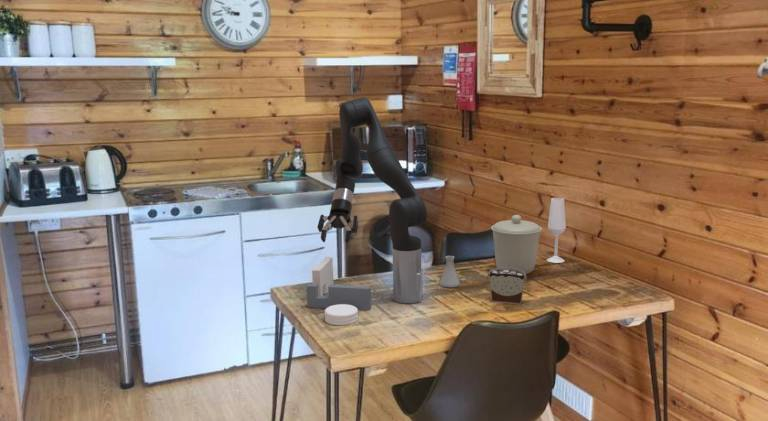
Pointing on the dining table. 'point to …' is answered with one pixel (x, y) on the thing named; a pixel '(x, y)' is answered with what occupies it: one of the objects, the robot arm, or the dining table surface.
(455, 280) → the flask
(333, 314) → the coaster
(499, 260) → the canister
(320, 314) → the dining table surface
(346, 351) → the dining table surface
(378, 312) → the dining table surface
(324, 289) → the white slotted plate
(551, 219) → the champagne flute
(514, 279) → the food container
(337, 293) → the grey slotted plate
